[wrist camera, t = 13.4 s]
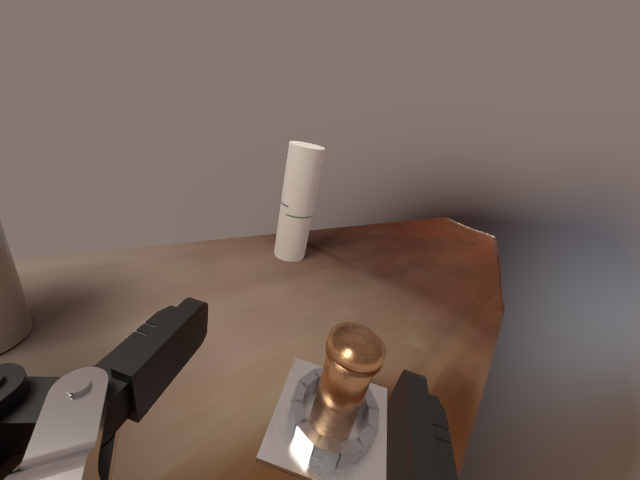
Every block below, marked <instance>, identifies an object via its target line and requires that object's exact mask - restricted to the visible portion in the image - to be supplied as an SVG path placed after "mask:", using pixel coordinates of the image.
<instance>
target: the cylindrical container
mask: <svg viewBox="0 0 640 480" xmlns="http://www.w3.org/2000/svg"><path fill="white" fill-rule="evenodd" d="M324 151H325V148H323V147H321V146H318V145H314V144H310V143H305V142H299V141H290V142H289V149H288V156H287V163H286V170H285V178H284V185H283V193H282V199H281V207H280V214H279V221H278V228H277V235H276V242H275V249H274V254H275V256H276V257H277V258H279V259H281V260H283V261H287V262H298V261H301V260H302V259H303V258H304V255H305V250H306V245H307V239H308V234H309V229H310V224H311V219H312V214H313V208H314V203H315V198H316V193H317V187H318V182H319V177H320V172H321V167H322V161H323V157H324Z"/></svg>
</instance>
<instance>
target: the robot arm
mask: <svg viewBox="0 0 640 480" xmlns="http://www.w3.org/2000/svg"><path fill="white" fill-rule="evenodd" d="M207 323H208V304H207V303H206V302H203V301H200V300H197V299H194V298H191V297H188V298H186V299H185V300H184V301H183V302H182V303H181V304H179V305H178V306H177V307H174V306H169V307H167V308H165V309H163V310H161V311H158V312H157V313H155V314H154V315H153V316H152V317H151V318H150V319H148V320H147V321H146V323H145V324H143V325H142V326H140V327H139V328H138V329H137V331H136V332H133V333H132V334H131V335H130V336H129V337H128V338H126V339H125V340H124V341H123V342H122V343H121V344H120V345H118V346H117V347H116V348H115V349H114V350H113V351H111V352H110V353H109V354H108V355H107V356H106V357H105V358H103V359H102V360H101V361H100V362H99V363H97V364H96V365H95V366H93V367H84V368H80V369H77V370H74V371H72V372H70V373H68V374H66V375H64V376H63V377H27V375H26V372H25V370H24V368H23V367H22V366H20V365H18V364H14V363H5V364H0V480H112V475H113V468H114V461H115V454H116V447H117V440H118V433H119V428H120V427H121V426H122V424H123V423H124V422H125V421H126V420H127V419H130V420H132V421H135V422H137V423H139V422H140V420H141V419H142V418H143V417H144V415H145V414H146V413H147V412H148V410H149V409H150V408H151V407H152V405H153V404H154V403H155V402H156V400H157V399H158V398H159V397H160V395H161V394H162V393H163V392H164V390H165V389H166V388H167V387H168V386H169V384H170V383H171V382H172V381H173V379H174V378H175V377H176V376H177V374H178V373H179V372H180V371H181V369H182V368H183V367H184V366H185V364H186V363H187V362H188V361H189V359H190V358H191V357H192V356H193V354H194V353H195V352H196V351H197V349H198V348H199V347H200V346H201V344H202V343H203V341H204V339H205V337H206V334H207ZM32 326H33V321H32V317H31V314H30V311H29V308H28V305H27V302H26V299H25V295H24V292H23V289H22V286H21V283H20V279H19V276H18V273H17V270H16V267H15V264H14V261H13V258H12V255H11V252H10V248H9V245H8V242H7V239H6V236H5V233H4V230H3V227H2V224H1V221H0V354H2V353H3V352H5V351H7V350H9V349H11V348H12V347H14V346H15V345H17V344H18V343H20V342H21V341H22V340H23V339H24V338H25V337H26V336H27V335H28V334H29V332H30V331H31V329H32ZM448 430H449V427H448V422H447V417H446V412H445V410H444V408H443V407H442V405H441V403H440V401H439V399H438V397H436V396H433V395H430V394H428V387H427V380H426V378H425V376H422V375H419V374H416V373H413V372H410V371H407V370H404V371H403V372H402V374H401V376H400V378H399V380H398V382H397V384H396V385H395V387H394V389H393V391H392V393H391V396H390V399H389V403H388V410H387V480H458V476H457V470H456V465H455V460H454V454H453V449H452V446H451V438H450V433H449V432H448ZM21 462H22V463H21ZM20 463H21V465H20V467H19V468H18V469H17V470H16V471H13V470H14V469H15V468H16V467H17V466H18V465H19V464H20ZM12 471H13V472H12Z"/></svg>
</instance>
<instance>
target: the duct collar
mask: <svg viewBox="0 0 640 480" xmlns="http://www.w3.org/2000/svg"><path fill="white" fill-rule="evenodd" d="M322 371H323V367H322V366H319V365H316V364H313V363H310V362H307V361H304V360H301V359H298V358H295V361H294V363H293V366H292V368H291V371H290V373H289V376H288V379H287V381H286V384H285V386H284V389H283V391H282V394H281V396H280V399H279V401H278V404H277V406H276V409H275V412H274V414H273V417H272V419H271V422H270V424H269V427H268V429H267V432H266V434H265V437H264V439H263V442H262V445H261V447H260V450H259V452H258V455H257V457H256V461H258V462H260V463H263V464H265V465H268V466H270V467H273V468H276V469H278V470H281V471H283V472H286V473H288V474H291V475H294V476H296V477H299V478H301V479H304V480H386V448H387V388H385V387H382V386H379V385H376V384H373V383H370V385H369V388H368V390H367V392H366V395H365V397H364V400H363V402H362V405H361V407H360V410H359V412H358V415H357V417H356V420H355V422H354V425H353V427H352V430H351V432H350V434H349V435H348V436H347V437H346V438H345V439H343V440H341V441H336V440H333V439H331V438H328V437H325V436H322V435H320V434H319V433H318V432H317V430H316V429H315V428H314V427H313V426H312V423H311V417H310V416H311V410H312V406H313V403H314V399H315V396H316V392H317V389H318V385H319V381H320V378H321V374H322Z"/></svg>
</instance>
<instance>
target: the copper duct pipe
mask: <svg viewBox="0 0 640 480" xmlns="http://www.w3.org/2000/svg"><path fill="white" fill-rule="evenodd" d="M326 354H327V357H326V360H325V364H324V367H323V371H322V374H321V378H320V381H319V385H318V389H317V392H316V396H315V399H314V403H313V406H312V410H311V416H310V417H311V423H312V426H313V427H314V428H315V429H316V430H317V432H318V433H319V434H320V435H322V436H325V437H328V438H331V439H333V440H336V441H341V440H343V439H345V438H346V437H347V436H348V435H349V434H350V432H351V430H352V427H353V425H354V422H355V420H356V417H357V415H358V412H359V410H360V407H361V405H362V402H363V400H364V397H365V395H366V392H367V390H368V388H369V385H370V383H371V380H372V378H373V376H374V375H375V374H377V373H378V372H379V371H380V369H381V367H382V365H383V362H384V360H385V357H386V348H385V345H384V343H383V341H382V340H381V338H380V337H379V336H378V335H377V334H376V333H375V332H374V331H372V330H371V329H369V328H367V327H365V326H363V325H360V324H357V323H350V322H349V323H341V324H338V325H336V326H334V327H333V328H332V329H331V331H330V332H329V335H328V338H327V342H326Z"/></svg>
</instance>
